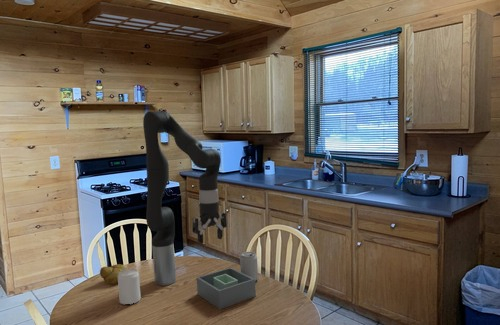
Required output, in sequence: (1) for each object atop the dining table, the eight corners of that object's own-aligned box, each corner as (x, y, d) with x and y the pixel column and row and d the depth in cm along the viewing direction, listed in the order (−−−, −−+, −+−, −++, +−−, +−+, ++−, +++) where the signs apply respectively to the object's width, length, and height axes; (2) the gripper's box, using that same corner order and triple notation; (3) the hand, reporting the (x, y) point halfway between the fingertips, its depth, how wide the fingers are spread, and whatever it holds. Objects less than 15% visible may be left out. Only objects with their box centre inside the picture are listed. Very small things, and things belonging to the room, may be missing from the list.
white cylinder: (144, 297, 161) (142, 269, 160) (132, 306, 153) (130, 276, 152) (128, 295, 164) (125, 267, 162) (115, 304, 156) (112, 275, 155)
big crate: (197, 293, 162) (196, 277, 162) (231, 282, 172) (230, 267, 171) (220, 309, 148) (219, 291, 147) (255, 296, 158) (254, 279, 157)
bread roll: (117, 274, 189) (115, 258, 188) (134, 276, 186) (133, 259, 185) (98, 285, 177) (97, 267, 176) (117, 287, 173) (115, 269, 173)
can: (256, 283, 170) (255, 256, 169) (239, 283, 171) (238, 256, 170) (259, 277, 177) (258, 251, 176) (243, 276, 179) (241, 250, 177)
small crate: (214, 291, 162) (213, 277, 161) (226, 287, 165) (225, 273, 165) (225, 299, 155) (225, 284, 154) (238, 294, 158) (237, 280, 157)
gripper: (219, 196, 162) (220, 235, 164) (188, 201, 154) (189, 242, 155) (229, 199, 156) (230, 239, 158) (197, 204, 148) (199, 247, 149)
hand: (210, 240), depth 157 cm, fingers open, 8 cm apart
